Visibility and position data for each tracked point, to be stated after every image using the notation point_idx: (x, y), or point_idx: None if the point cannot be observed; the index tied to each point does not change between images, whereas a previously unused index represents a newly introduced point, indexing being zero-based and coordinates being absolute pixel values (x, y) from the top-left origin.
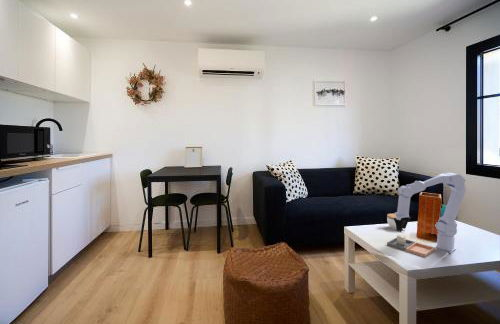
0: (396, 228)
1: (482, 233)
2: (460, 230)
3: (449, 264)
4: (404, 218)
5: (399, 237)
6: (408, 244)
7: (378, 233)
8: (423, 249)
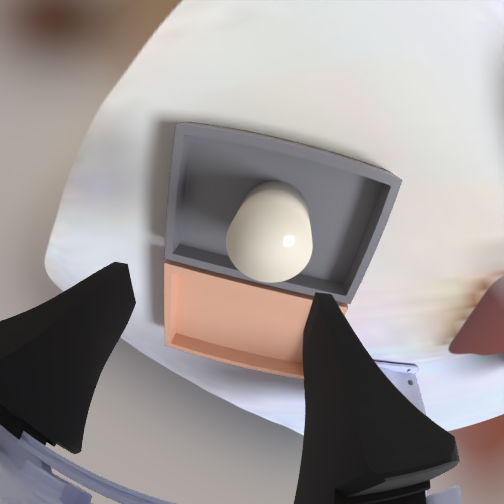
0: (92, 274)
1: None
2: None
3: (196, 383)
4: (319, 476)
5: (227, 233)
6: (318, 258)
7: (458, 32)
8: (278, 332)
